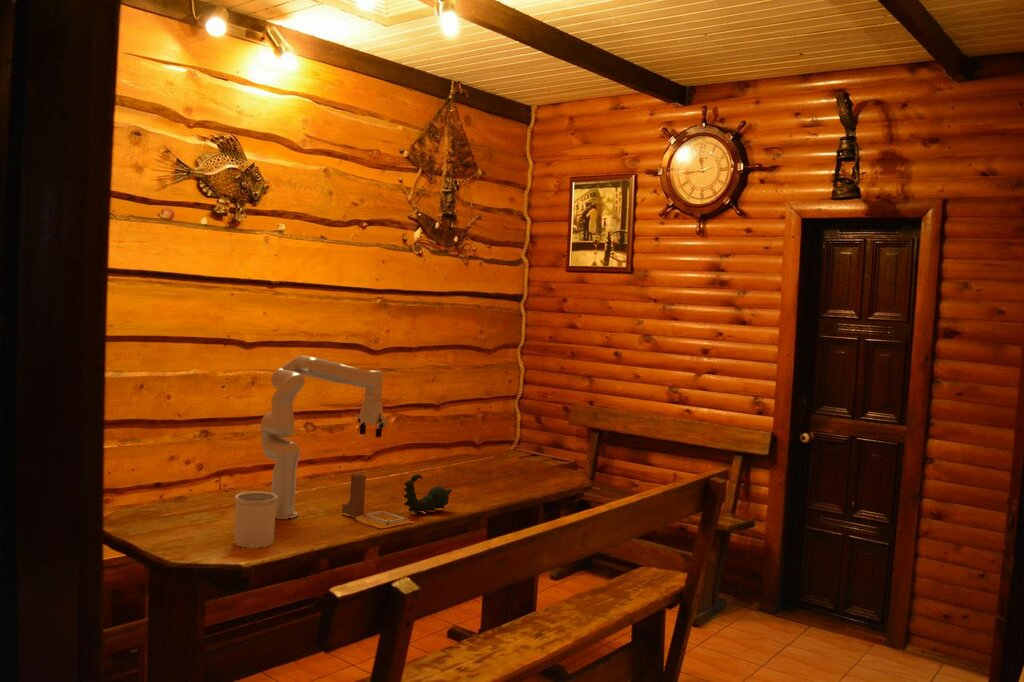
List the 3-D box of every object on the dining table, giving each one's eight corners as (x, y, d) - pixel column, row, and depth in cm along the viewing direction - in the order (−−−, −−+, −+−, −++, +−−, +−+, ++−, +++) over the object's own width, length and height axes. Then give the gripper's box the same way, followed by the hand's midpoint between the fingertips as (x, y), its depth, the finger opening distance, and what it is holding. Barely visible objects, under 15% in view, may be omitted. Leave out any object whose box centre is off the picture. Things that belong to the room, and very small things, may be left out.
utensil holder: (257, 551, 302) (260, 502, 301) (223, 544, 307) (226, 496, 306) (282, 541, 315) (285, 495, 315) (250, 535, 321) (252, 489, 320)
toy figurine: (413, 522, 362) (458, 510, 379) (412, 478, 361) (458, 468, 377) (400, 517, 369) (445, 505, 386) (399, 474, 367) (445, 464, 384)
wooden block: (341, 514, 360) (343, 472, 359) (349, 513, 364) (352, 471, 363) (355, 519, 354) (358, 476, 354) (363, 517, 358) (366, 475, 357)
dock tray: (380, 529, 341) (380, 523, 341) (355, 520, 351) (355, 514, 351) (413, 523, 354) (414, 517, 354) (388, 514, 365) (389, 509, 365)
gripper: (353, 395, 383) (350, 433, 384) (381, 400, 374) (379, 439, 374) (364, 395, 389) (362, 432, 390) (393, 399, 380) (390, 437, 380)
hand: (370, 435), depth 382 cm, fingers open, 9 cm apart
